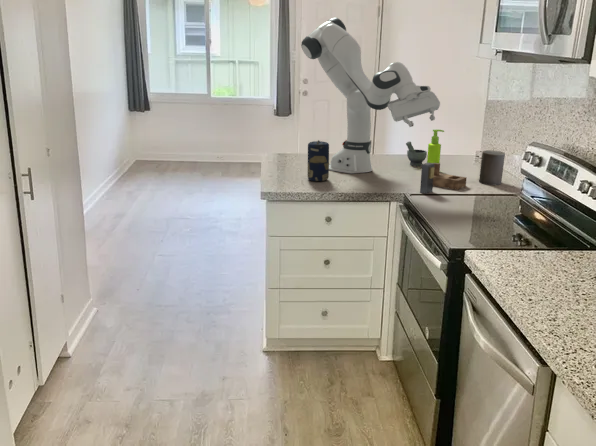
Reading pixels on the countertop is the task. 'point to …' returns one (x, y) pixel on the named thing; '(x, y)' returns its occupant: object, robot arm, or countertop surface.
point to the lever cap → (427, 178)
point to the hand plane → (447, 179)
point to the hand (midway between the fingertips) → (422, 122)
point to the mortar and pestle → (415, 155)
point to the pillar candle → (491, 167)
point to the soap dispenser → (434, 149)
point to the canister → (318, 161)
